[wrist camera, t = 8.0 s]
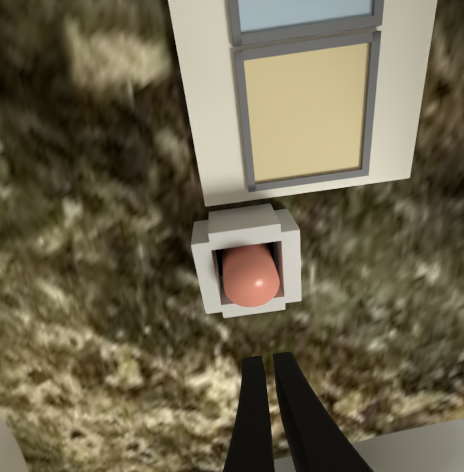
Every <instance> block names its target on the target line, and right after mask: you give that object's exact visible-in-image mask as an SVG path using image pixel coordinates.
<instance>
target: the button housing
mask: <svg viewBox="0 0 464 472" xmlns="http://www.w3.org/2000/svg"><path fill="white" fill-rule="evenodd" d="M268 242H273V247H274V261H275V268H276V270H277V273H278V276H279V280H280V285H279V289H278V292H277V293H276V295H275V296H274V297H273V298H272V299H271V300H270V301H269V302H267V303H265V304H263V305H261V306H257V307H243V306H239V305H237V304H235V303H233V302H232V301H231V300H229V298H228V297H227V296H226V294H225V291H224V282H223V276H220V273H219V267H218V261H217V256H216V250H217V249H225V248H232V247H239V246H246V245H253V244H260V243H268ZM191 248H192V253H193V257H194V262H195V266H196V271H197V275H198V280H199V284H200V289H201V294H202V298H203V303H204V307H205V312H206V314H209V313H217V312H223V318H227V317H234V316H241V315H249V314H256V313H263V312H270V311H278V310H285V303H289V302H296V301H301V260H300V229H299V228H298V226H297V224H296V223H295V221H294V219H293V218H292V216H291V214H290V213H289V211H288V209H281V210H273V208H272V206H271V203H269V204H262V205H255V206H248V207H241V208H234V209H227V210H219V211H212V212H209V220H202V221H195V222H194V226H193V233H192V240H191Z"/></svg>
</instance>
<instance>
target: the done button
mask: <svg viewBox="0 0 464 472" xmlns="http://www.w3.org/2000/svg"><path fill="white" fill-rule="evenodd" d="M222 263H223V282H224V291H225V294H226V296H227V297H228V298H229V300H231V301H232V302H233V303H235V304H237V305H239V306H243V307H257V306H261V305H263V304H265V303H267V302H269V301H270V300H271V299H272V298H273V297H274V296H275V295H276V293H277V292H278V289H279V285H280V280H279V276H278V273H277V270H276V268H275V265H274V262H273V259H272V256H271V253H270V250H269V247H268V245H267V244H266V243H260V244H253V245H246V246H239V247H232V248H225V249H224V250H223V254H222Z"/></svg>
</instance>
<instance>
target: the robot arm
mask: <svg viewBox="0 0 464 472" xmlns="http://www.w3.org/2000/svg"><path fill="white" fill-rule="evenodd" d="M273 361H274V372H275V383H276V392H277V398H278V403H279V408H280V413H281V419H282V423H283V427H284V430H285V434H286V437H287V441H288V445H289V448H290V452H291V455H292V459H293V463H294V466H295V470H296V472H373V470H372V469H371V468H370V467H369V466H368V465H367V463H366V462H365V461H364V460H363V458H362V457H361V456H360V455H359V453H358V452H357V451H356V450H355V449H354V448H353V446H352V445H351V443H350V442H349V441H348V439H347V438H346V437H345V436H344V434H343V433H342V432H341V430H340V429H339V428H338V426H337V425H336V423H335V422H334V421H333V419H332V418H331V416H330V415H329V414H328V412H327V411H326V409H325V408H324V406H323V405H322V403H321V402H320V400H319V399H318V397H317V396H316V394H315V393H314V391H313V390H312V388H311V387H310V385H309V383H308V382H307V380H306V378H305V377H304V375H303V373H302V371H301V370H300V368H299V366H298V364H297V362H296V360H295V358H294V356H293V354H292V353H291V352H284V353H276V354H273ZM223 472H275V468H274V456H273V444H272V433H271V421H270V413H269V404H268V395H267V386H266V377H265V371H264V366H263V361H262V356H254V357H247V358H244V359H243V360H242V382H241V391H240V398H239V404H238V409H237V415H236V420H235V425H234V429H233V434H232V438H231V442H230V446H229V451H228V454H227V458H226V462H225V466H224V469H223Z"/></svg>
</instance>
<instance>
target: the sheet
mask: <svg viewBox="0 0 464 472" xmlns="http://www.w3.org/2000/svg"><path fill="white" fill-rule="evenodd" d="M168 3H169V9H170V14H171V20H172V26H173V31H174V37H175V42H176V48H177V53H178V59H179V64H180V70H181V75H182V81H183V86H184V92H185V97H186V103H187V108H188V114H189V119H190V125H191V130H192V136H193V142H194V147H195V153H196V158H197V164H198V169H199V175H200V180H201V186H202V191H203V197H204V202H205V207H207V206H214V205H221V204H228V203H235V202H242V201H249V200H256V199H264V198H271V197H278V196H285V195H292V194H299V193H306V192H313V191H321V190H328V189H335V188H342V187H349V186H356V185H363V184H370V183H378V182H385V181H392V180H399V179H406V178H410V173H411V167H412V160H413V154H414V147H415V141H416V135H417V128H418V122H419V115H420V109H421V102H422V96H423V89H424V83H425V77H426V70H427V64H428V57H429V51H430V44H431V38H432V31H433V25H434V19H435V12H436V6H437V0H168Z"/></svg>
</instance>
